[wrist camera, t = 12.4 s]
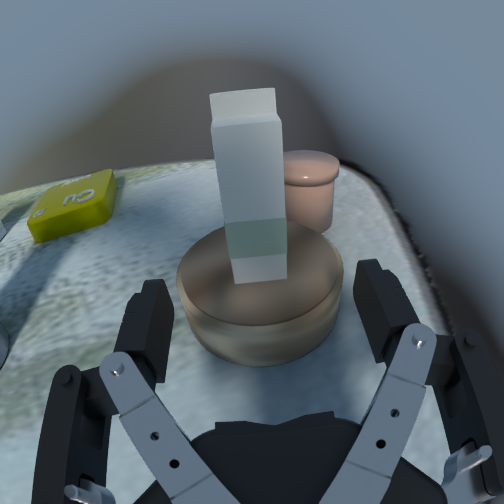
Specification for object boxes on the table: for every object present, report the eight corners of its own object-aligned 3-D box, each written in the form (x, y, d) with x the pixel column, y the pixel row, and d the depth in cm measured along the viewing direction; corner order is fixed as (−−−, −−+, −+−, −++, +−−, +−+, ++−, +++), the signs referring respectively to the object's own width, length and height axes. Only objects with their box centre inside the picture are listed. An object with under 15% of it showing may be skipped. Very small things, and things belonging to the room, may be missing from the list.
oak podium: (160, 309, 29) (144, 271, 26) (256, 240, 37) (253, 202, 34) (271, 398, 21) (268, 364, 18) (364, 290, 29) (372, 249, 26)
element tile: (119, 186, 56) (113, 164, 53) (111, 224, 44) (101, 197, 41) (54, 206, 53) (46, 186, 50) (33, 247, 42) (21, 223, 39)
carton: (234, 284, 24) (205, 101, 15) (233, 245, 28) (211, 89, 19) (287, 279, 24) (280, 94, 15) (279, 240, 28) (270, 84, 19)
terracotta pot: (260, 223, 39) (255, 165, 35) (297, 199, 44) (296, 146, 39) (313, 246, 35) (315, 182, 30) (346, 216, 39) (351, 159, 34)
